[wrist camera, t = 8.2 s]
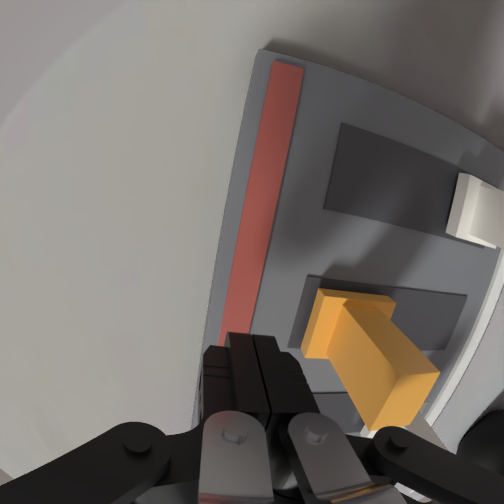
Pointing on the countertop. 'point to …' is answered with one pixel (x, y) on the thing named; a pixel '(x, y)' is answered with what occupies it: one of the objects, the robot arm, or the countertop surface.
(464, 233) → the breaker
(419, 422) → the breaker
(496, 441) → the cola bottle
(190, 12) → the countertop surface
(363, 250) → the panel
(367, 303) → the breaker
